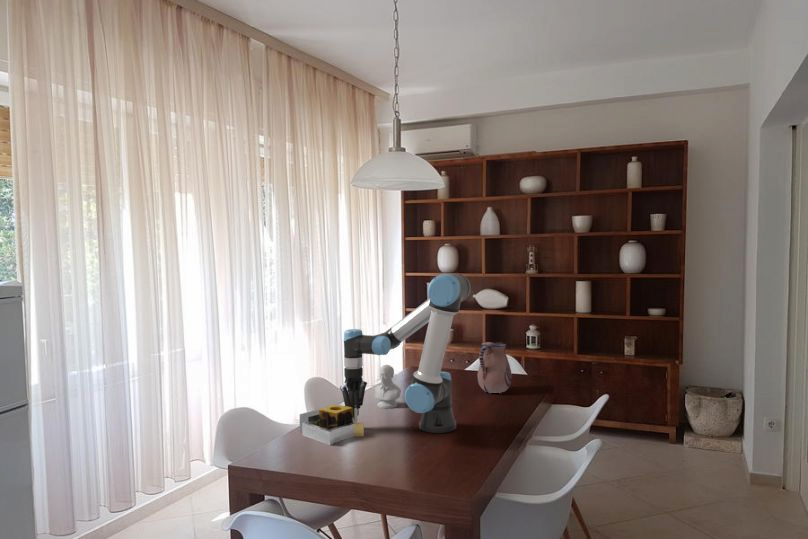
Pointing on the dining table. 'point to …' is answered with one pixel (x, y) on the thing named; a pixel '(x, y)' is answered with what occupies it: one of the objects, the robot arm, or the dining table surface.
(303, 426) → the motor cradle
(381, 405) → the figurine
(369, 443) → the dining table surface
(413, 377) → the robot arm
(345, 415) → the yellow and black cube
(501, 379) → the ceramic pitcher
